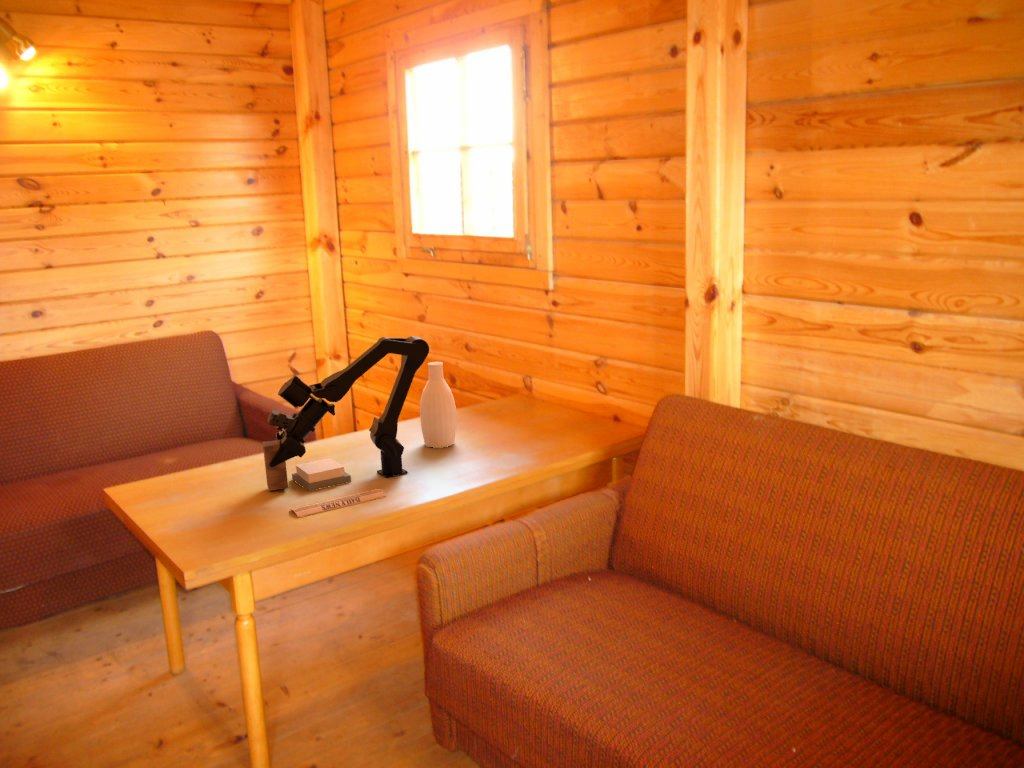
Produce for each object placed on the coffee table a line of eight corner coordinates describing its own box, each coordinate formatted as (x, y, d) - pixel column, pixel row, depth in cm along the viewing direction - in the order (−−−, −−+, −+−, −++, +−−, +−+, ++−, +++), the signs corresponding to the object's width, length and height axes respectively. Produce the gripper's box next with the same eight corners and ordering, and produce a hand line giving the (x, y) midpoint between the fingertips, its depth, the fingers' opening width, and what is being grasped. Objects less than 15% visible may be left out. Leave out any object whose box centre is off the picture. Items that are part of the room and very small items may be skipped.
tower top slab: (344, 475, 240) (344, 466, 240) (309, 483, 235) (308, 474, 234) (331, 466, 248) (330, 457, 248) (296, 473, 243) (295, 465, 243)
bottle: (464, 445, 270) (460, 363, 265) (432, 452, 264) (428, 368, 258) (446, 437, 279) (442, 357, 274) (414, 443, 273) (410, 363, 268)
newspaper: (376, 493, 233) (376, 486, 233) (388, 500, 228) (387, 493, 227) (289, 514, 221) (289, 507, 220) (299, 522, 215) (299, 515, 215)
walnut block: (286, 481, 239) (281, 439, 237) (288, 487, 235) (283, 444, 232) (267, 484, 238) (262, 441, 235) (268, 490, 233) (264, 446, 230)
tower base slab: (351, 484, 241) (350, 475, 240) (309, 494, 234) (308, 485, 234) (333, 473, 251) (332, 464, 250) (292, 482, 244) (291, 473, 243)
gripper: (280, 391, 241) (242, 436, 240) (288, 407, 224) (247, 455, 223) (312, 416, 245) (275, 460, 244) (322, 433, 228) (282, 480, 227)
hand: (269, 463), depth 234 cm, fingers closed on walnut block, 5 cm apart
